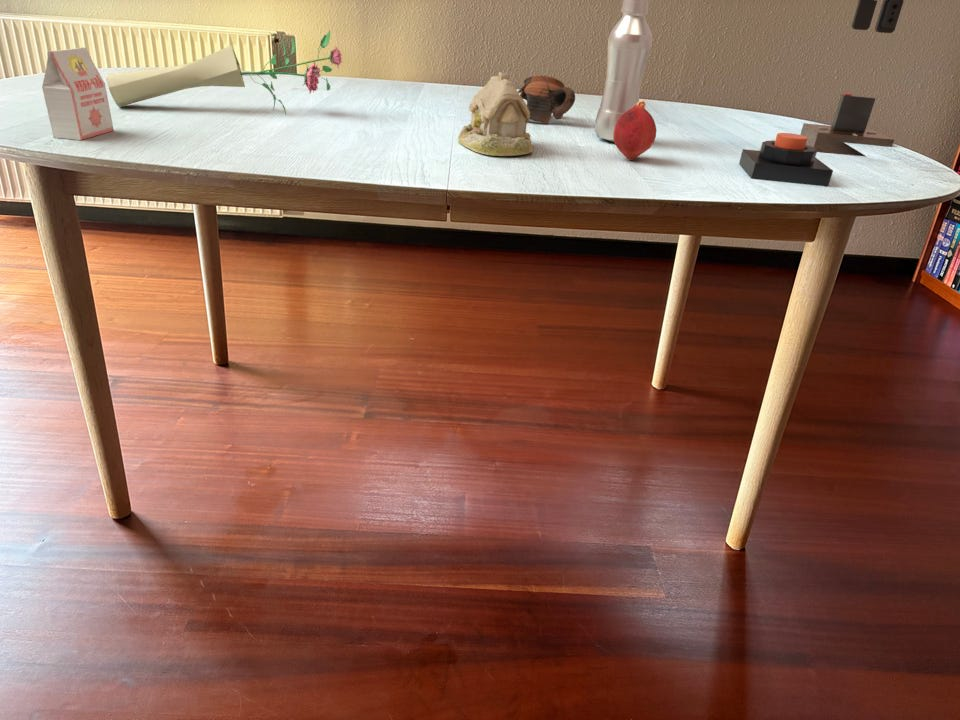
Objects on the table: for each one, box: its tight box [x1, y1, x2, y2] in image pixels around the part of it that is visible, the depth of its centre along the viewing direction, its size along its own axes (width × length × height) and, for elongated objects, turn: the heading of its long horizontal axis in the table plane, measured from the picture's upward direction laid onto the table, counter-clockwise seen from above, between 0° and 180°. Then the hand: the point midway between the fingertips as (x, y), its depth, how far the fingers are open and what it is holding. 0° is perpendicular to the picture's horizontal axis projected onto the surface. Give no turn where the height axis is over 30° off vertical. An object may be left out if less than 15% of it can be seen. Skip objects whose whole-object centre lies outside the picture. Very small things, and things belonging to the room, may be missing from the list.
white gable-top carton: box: [41, 47, 114, 141], centre depth 86 cm, size 4×7×10 cm, turn 172°
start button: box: [774, 132, 808, 150], centre depth 93 cm, size 4×4×2 cm
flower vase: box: [105, 29, 343, 116], centre depth 108 cm, size 12×12×35 cm
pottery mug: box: [517, 75, 576, 125], centre depth 120 cm, size 12×10×8 cm
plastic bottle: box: [594, 0, 654, 143], centre depth 104 cm, size 6×7×20 cm
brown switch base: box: [799, 122, 895, 157], centre depth 116 cm, size 12×9×3 cm
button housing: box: [738, 140, 834, 188], centre depth 94 cm, size 10×9×4 cm
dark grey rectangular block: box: [830, 92, 877, 133], centre depth 114 cm, size 5×2×6 cm, turn 82°
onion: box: [613, 100, 657, 161], centre depth 95 cm, size 6×6×8 cm
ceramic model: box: [457, 71, 534, 157], centre depth 97 cm, size 14×11×10 cm
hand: (871, 31), depth 92 cm, fingers open, 8 cm apart
